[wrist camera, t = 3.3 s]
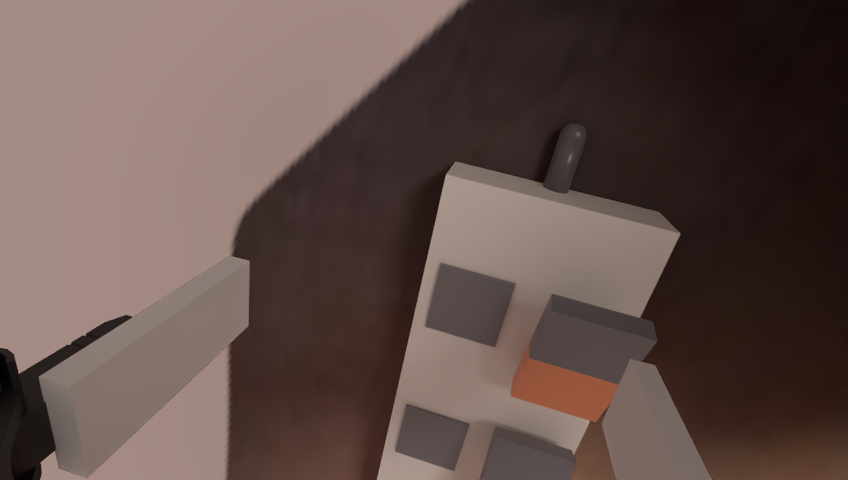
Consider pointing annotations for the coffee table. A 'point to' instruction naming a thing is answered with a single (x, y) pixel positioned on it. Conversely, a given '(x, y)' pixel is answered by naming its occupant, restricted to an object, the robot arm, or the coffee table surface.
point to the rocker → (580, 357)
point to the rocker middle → (525, 458)
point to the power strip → (508, 306)
